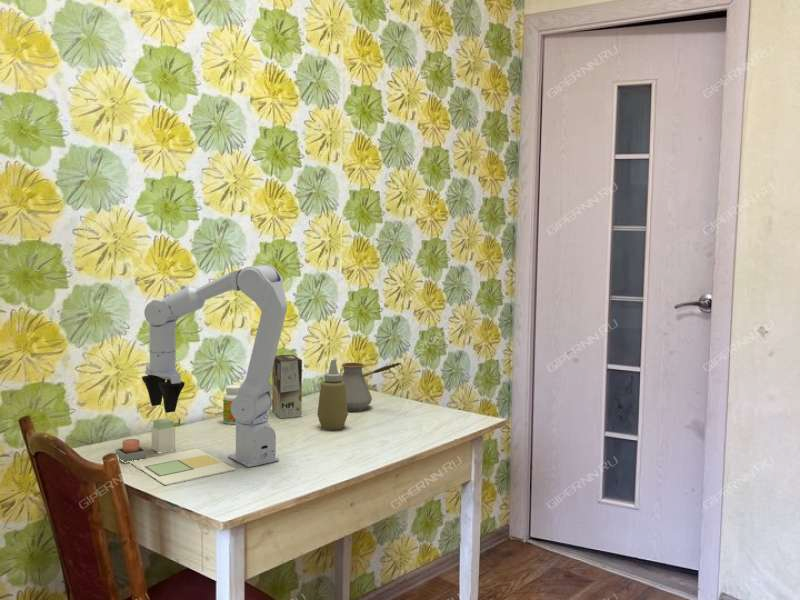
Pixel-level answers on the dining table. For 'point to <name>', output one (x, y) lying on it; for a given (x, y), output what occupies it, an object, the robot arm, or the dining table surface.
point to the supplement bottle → (229, 403)
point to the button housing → (131, 455)
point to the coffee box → (287, 386)
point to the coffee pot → (358, 385)
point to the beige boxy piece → (163, 435)
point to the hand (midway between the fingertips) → (163, 408)
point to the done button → (131, 446)
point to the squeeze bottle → (332, 400)
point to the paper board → (182, 466)
